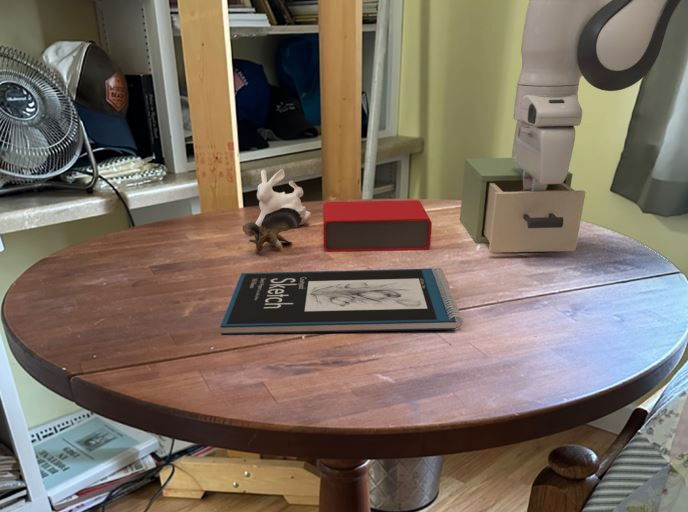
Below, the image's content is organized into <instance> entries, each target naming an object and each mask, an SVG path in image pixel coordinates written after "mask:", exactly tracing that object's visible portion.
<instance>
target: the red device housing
mask: <svg viewBox="0 0 688 512" xmlns="http://www.w3.org/2000/svg"><path fill="white" fill-rule="evenodd" d="M322 223H323V224H322V225H323V249H324V251H325V252H329V253H331V252H334V253H335V252H336V253H337V252H377V251H378V252H380V251H381V252H383V251H386V252H387V251H426V250H429V249H430V247H431V242H432V228H433V227H432V226H433V223H432V220H431V219H430V216H429V214H428V213H427V211H426V210H425V207H424V206H423V204H422V202H421V201H420V200H419V199H415V200H413V199H411V200H404V199H403V200H363V201H362V200H360V201H359V200H358V201H355V200H354V201H326V202H324V203H323V206H322Z"/></svg>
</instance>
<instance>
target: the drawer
mask: <svg viewBox="0 0 688 512" xmlns="http://www.w3.org/2000/svg"><path fill="white" fill-rule="evenodd" d="M523 189H524V188H523V181H487V185H486V195H485V205H484V215H483V225H482V232H483V234H484V235H485V236H486V238H487V239H488V241H489V242H490V243H489V245H488V247H489V248H488V251H489V253H535V252H536V253H537V252H542V253H543V252H545V253H547V252H575V251H576V250H577V248H576V247H577V244H578V238H579V232H580V227H581V221H582V215H583V210H584V203H585V199H586V193H587V192H586V191H585V190H575V188H572V186H571V187H569V186H568V185H566V184H565V183H561V184H548V186H547V188H546V191H528V192H519V191H523ZM548 190H559V191H548Z"/></svg>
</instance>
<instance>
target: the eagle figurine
mask: <svg viewBox="0 0 688 512" xmlns="http://www.w3.org/2000/svg"><path fill="white" fill-rule="evenodd" d="M301 220H302V218H301V217H300V214H299V213H298V211H296V210H295V209H292V208H285V207H284V208H280V209H279V210H276V211H273V212H272V213H268V214H266V215H265V217H264V219H263V221H262V223H261V227H260V226H258V225H256V224H255V223H256V222H254V221H253V220H249V221H246V222H245V223H244V224H243V225H242V226H241V227H242V232H243V233H244V234H245V236H247V237H253V236H254V239H249V243H253V244H255V248H256V249H255V254H256V255H258V254H260V252H261V251H262V250H263V246H264V244H265V243H268V244H270V245H272V246H275V247H276V248H277V249H279V250H280V251H281V252H282V251H283V252H284V248H283V247H284V246H283V244H282V243H281V242H283V243H287V244H293V241H289V240H287V239H285V237H283V236H282V235H281V234H279V233H283V232H287V231H289V230H294V229H297V228H299V227H300V226H301V225H299V224H300V223H301Z"/></svg>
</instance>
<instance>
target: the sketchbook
mask: <svg viewBox="0 0 688 512" xmlns="http://www.w3.org/2000/svg"><path fill="white" fill-rule="evenodd" d="M463 324H464V319H463V317H462V314H461V312H460V309H459V307H458V305H457V302H456V299H455V297H454V294H453V292H452V290H451V287H450V285H449V281H448V280H447V277H446V275H445V273H444V270H443V269H442V268H441V267H439V266H435V267H433V268H431V267H430V268H399V269H398V268H397V269H395V268H394V269H393V268H392V269H357V270H354V269H352V270H351V269H349V270H313V271H311V270H310V271H277V272H275V271H274V272H273V271H271V272H241V273H240V276H239V279H238V281H237V283H236V286H235V288H234V290H233V293H232V296H231V298H230V301H229V304H228V306H227V308H226V311H225V314H224V316H223V319H222V321H221V323H220V326H219V327H220V333H221V334H220V335H248V334H249V335H251V334H253V335H255V334H258V335H260V334H261V335H263V334H296V333H297V334H298V333H299V334H303V333H305V334H306V333H342V332H343V333H344V332H345V333H347V332H350V333H351V332H387V331H388V332H390V331H391V332H392V331H433V330H435V331H437V330H441V331H443V330H454V331H455V330H459V329H460V328H461V327H463Z"/></svg>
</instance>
